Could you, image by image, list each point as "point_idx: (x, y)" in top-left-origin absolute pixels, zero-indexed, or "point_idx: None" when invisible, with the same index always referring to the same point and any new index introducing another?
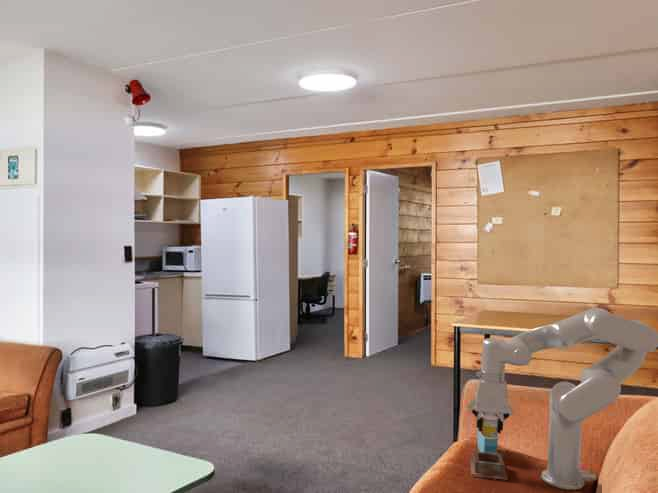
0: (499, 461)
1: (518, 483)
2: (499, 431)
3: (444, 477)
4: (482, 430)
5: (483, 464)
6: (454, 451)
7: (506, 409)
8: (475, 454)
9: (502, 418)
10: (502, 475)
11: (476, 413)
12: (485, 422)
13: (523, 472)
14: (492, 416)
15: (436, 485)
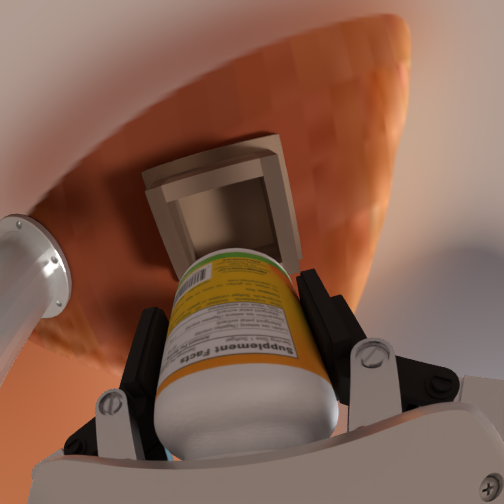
0: (175, 226)
1: (108, 173)
2: (149, 315)
3: (365, 89)
4: (288, 287)
5: (238, 161)
6: (350, 306)
7: (29, 494)
8: (288, 241)
9: (109, 417)
10: (161, 178)
11: (409, 387)
12: (280, 332)
13: (117, 268)
14: (203, 417)
15: (373, 27)
